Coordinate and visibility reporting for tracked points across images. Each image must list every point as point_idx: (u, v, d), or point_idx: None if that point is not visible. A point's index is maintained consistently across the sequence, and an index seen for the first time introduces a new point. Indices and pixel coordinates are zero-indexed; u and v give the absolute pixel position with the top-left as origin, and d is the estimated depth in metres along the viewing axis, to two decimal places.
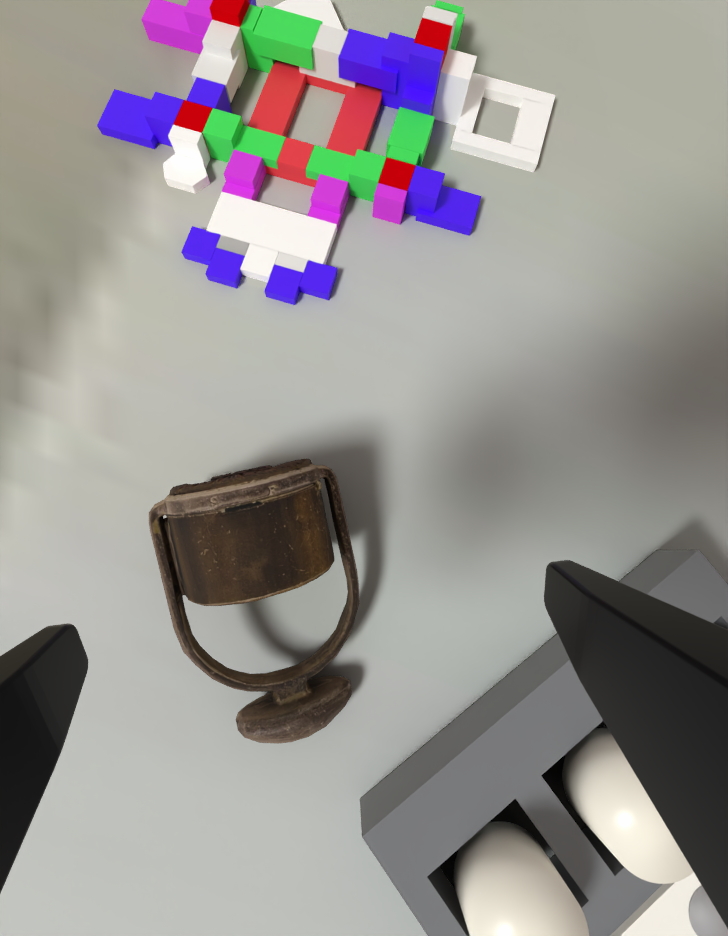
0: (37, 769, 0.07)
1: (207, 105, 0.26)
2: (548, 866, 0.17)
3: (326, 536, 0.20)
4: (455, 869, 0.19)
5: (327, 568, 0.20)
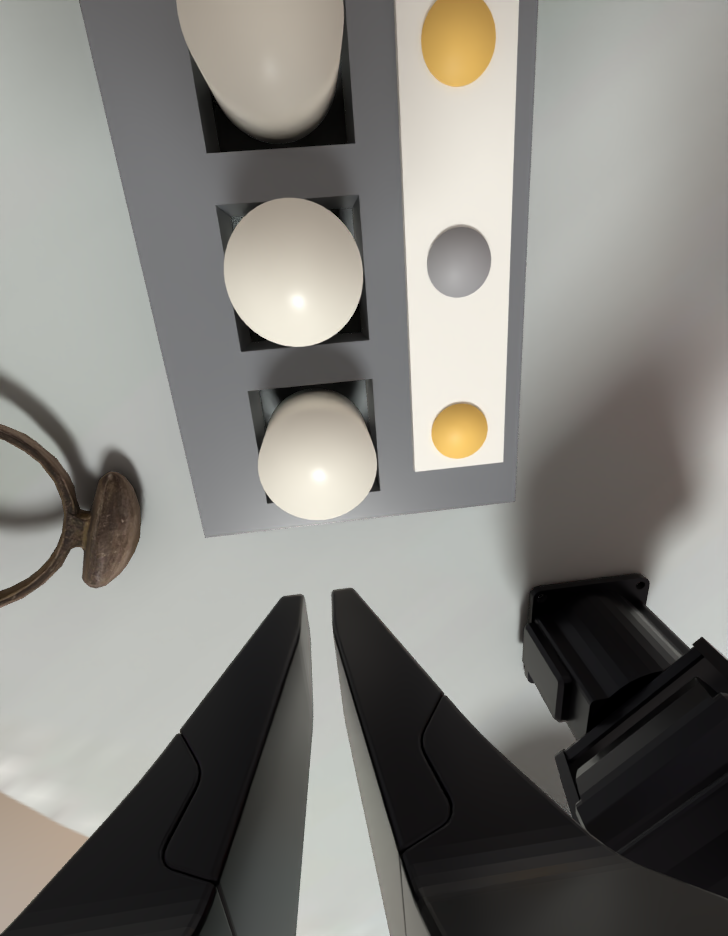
0: (307, 730, 0.08)
1: None
2: (289, 410, 0.16)
3: None
4: None
5: None
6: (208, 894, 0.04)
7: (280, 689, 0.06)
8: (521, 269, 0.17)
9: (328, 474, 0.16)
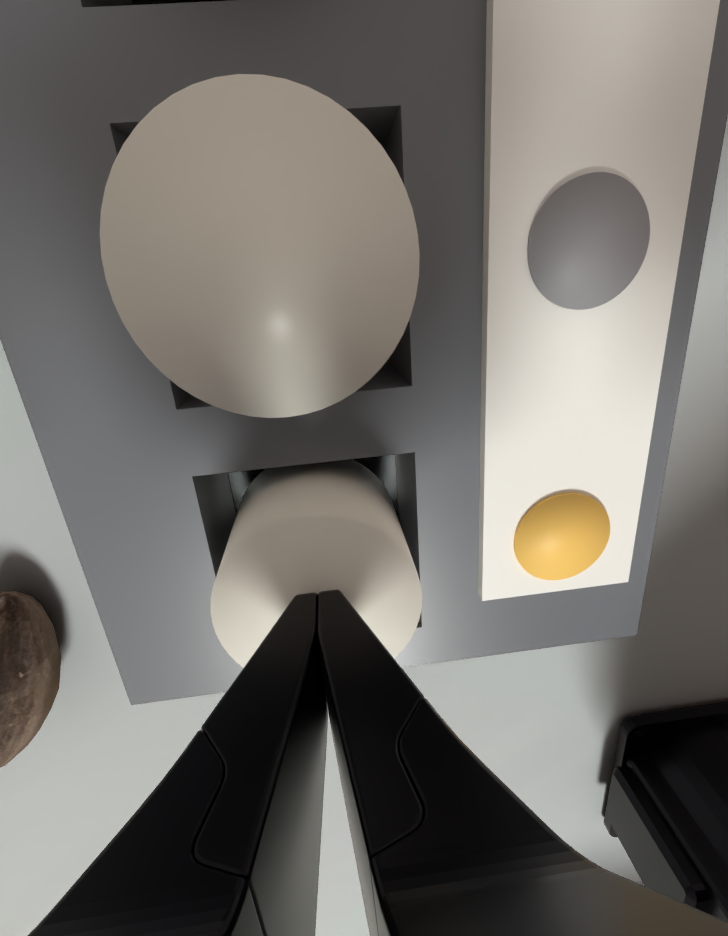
0: (323, 728, 0.08)
1: None
2: (268, 507, 0.09)
3: None
4: None
5: None
6: (240, 889, 0.04)
7: (299, 686, 0.06)
8: (693, 257, 0.09)
9: None
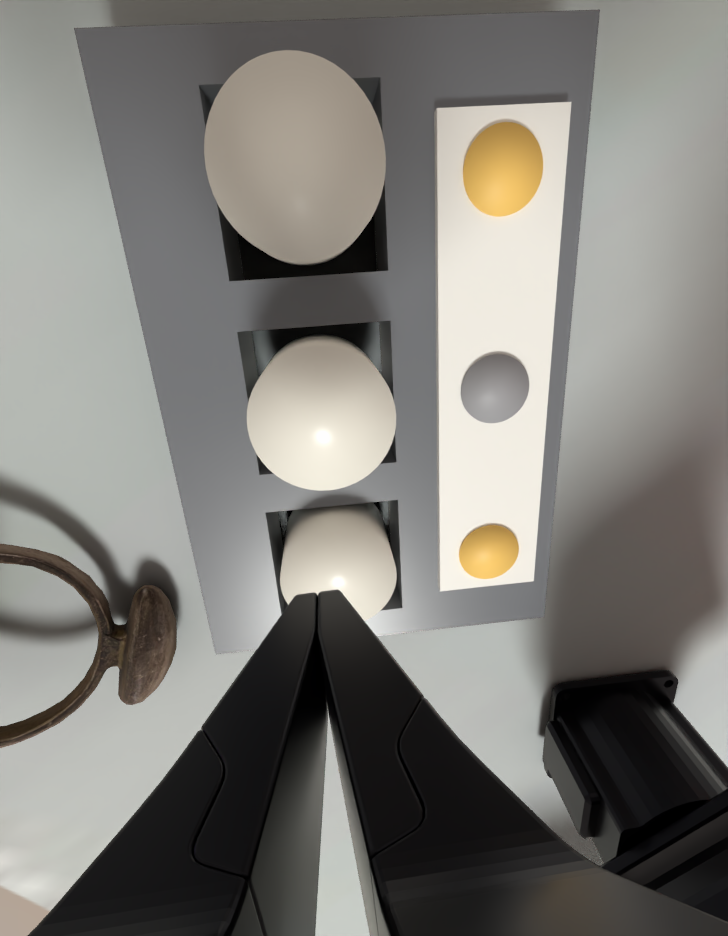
0: (323, 727, 0.08)
1: None
2: (311, 522, 0.16)
3: None
4: None
5: None
6: (240, 889, 0.04)
7: (299, 686, 0.06)
8: (559, 392, 0.16)
9: (348, 586, 0.16)
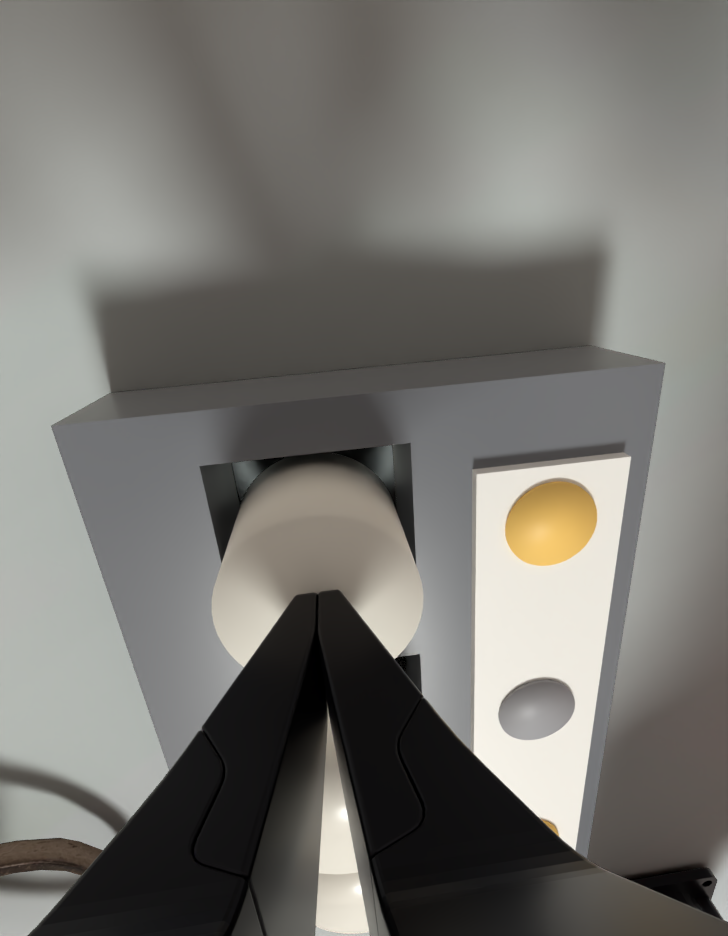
0: (323, 727, 0.08)
1: None
2: None
3: None
4: None
5: None
6: (240, 889, 0.04)
7: (299, 686, 0.06)
8: (606, 699, 0.14)
9: None
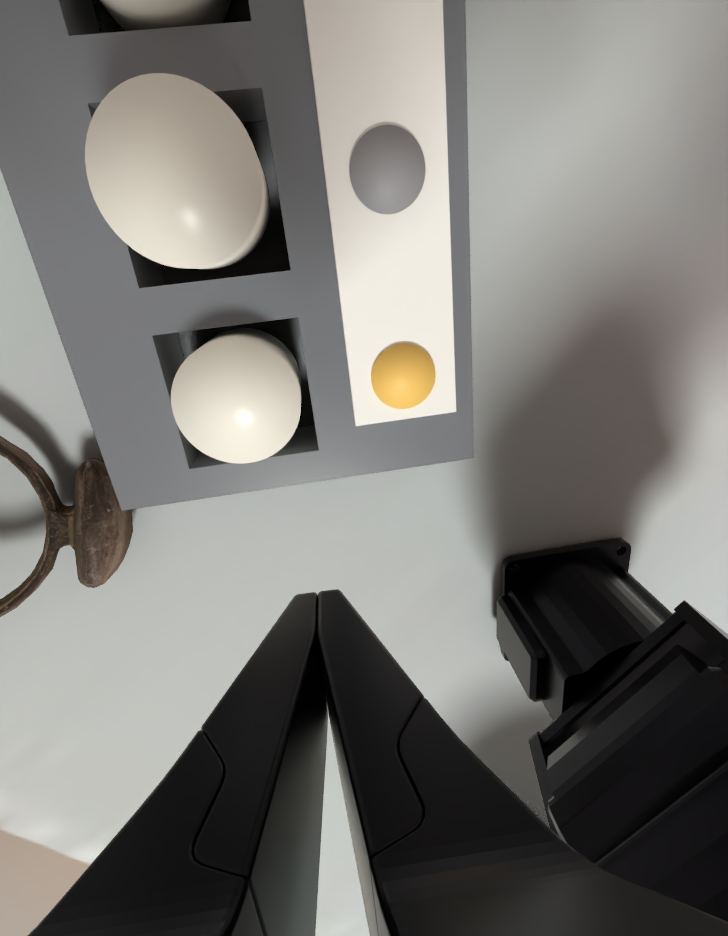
0: (323, 728, 0.08)
1: None
2: (204, 344, 0.15)
3: None
4: None
5: None
6: (240, 889, 0.04)
7: (299, 686, 0.06)
8: (462, 179, 0.14)
9: (249, 412, 0.15)
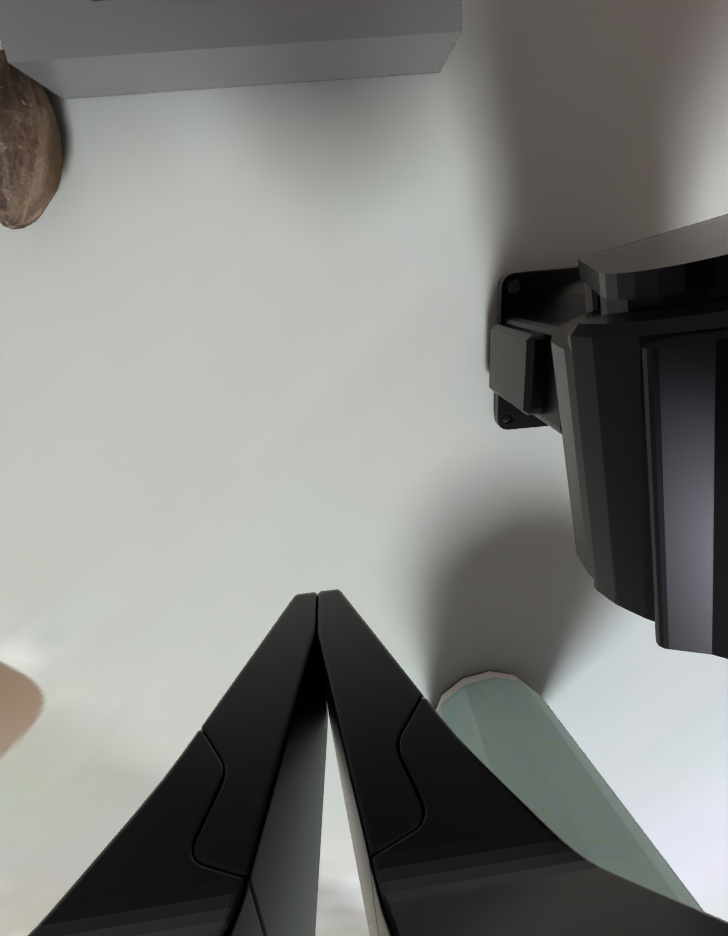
0: (323, 727, 0.08)
1: None
2: None
3: None
4: None
5: None
6: (240, 889, 0.04)
7: (299, 686, 0.06)
8: None
9: None
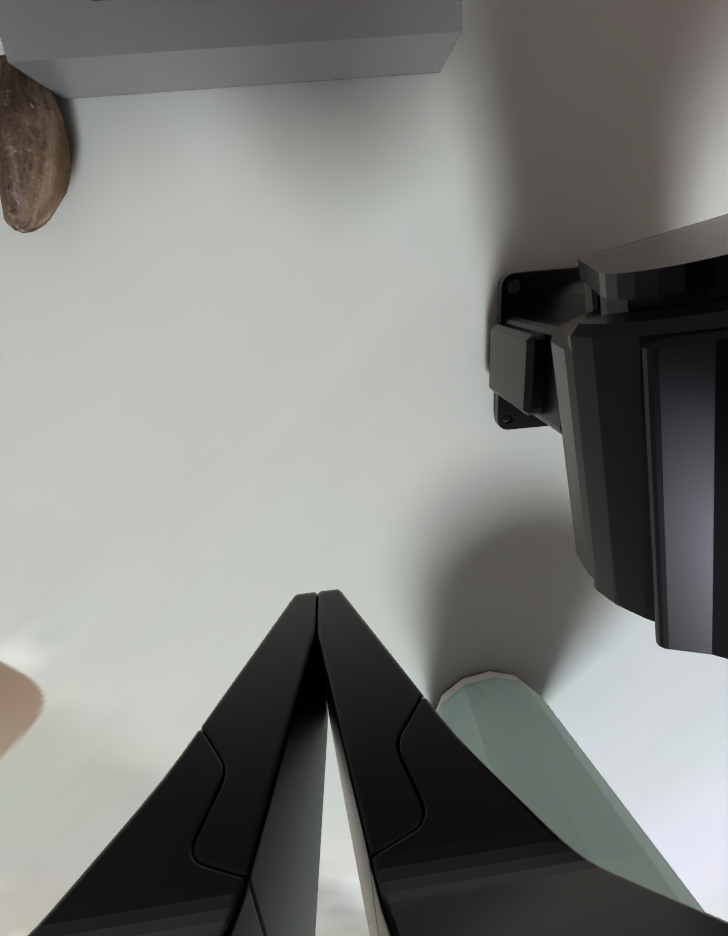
0: (323, 727, 0.08)
1: None
2: None
3: None
4: None
5: None
6: (240, 889, 0.04)
7: (299, 686, 0.06)
8: None
9: None
